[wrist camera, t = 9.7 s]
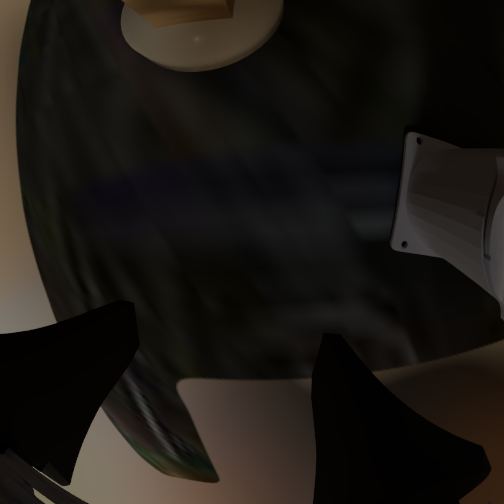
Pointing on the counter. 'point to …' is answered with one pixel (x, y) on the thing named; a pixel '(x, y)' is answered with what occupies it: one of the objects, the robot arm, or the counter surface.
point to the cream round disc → (204, 36)
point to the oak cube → (181, 10)
